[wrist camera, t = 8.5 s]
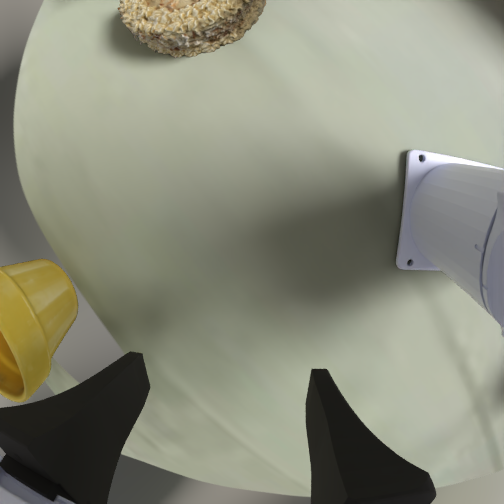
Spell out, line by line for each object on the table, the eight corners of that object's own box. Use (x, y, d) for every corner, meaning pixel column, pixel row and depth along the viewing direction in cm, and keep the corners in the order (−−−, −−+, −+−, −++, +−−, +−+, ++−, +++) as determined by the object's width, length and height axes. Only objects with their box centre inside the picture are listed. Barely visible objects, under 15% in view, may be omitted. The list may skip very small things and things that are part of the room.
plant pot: (4, 265, 23) (-63, 305, 13) (53, 215, 20) (-38, 253, 11) (55, 350, 25) (2, 407, 16) (116, 322, 23) (51, 398, 14)
